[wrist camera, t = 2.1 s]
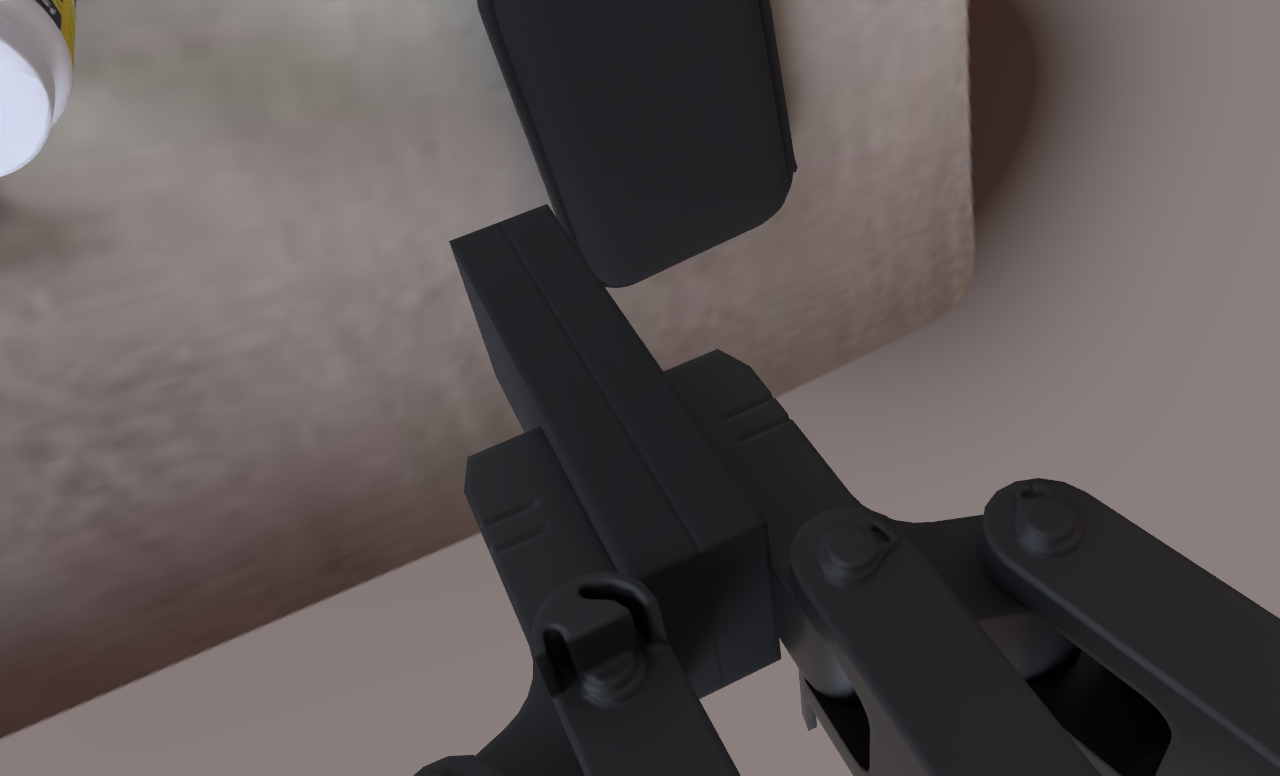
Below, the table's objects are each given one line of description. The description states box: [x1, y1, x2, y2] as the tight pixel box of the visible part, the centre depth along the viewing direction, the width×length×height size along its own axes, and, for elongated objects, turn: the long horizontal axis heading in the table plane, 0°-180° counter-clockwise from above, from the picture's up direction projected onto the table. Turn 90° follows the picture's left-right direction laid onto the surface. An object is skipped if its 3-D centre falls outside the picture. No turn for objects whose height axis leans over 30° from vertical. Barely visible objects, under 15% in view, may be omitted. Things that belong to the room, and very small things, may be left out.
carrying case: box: [477, 0, 797, 288], centre depth 38 cm, size 11×3×15 cm
